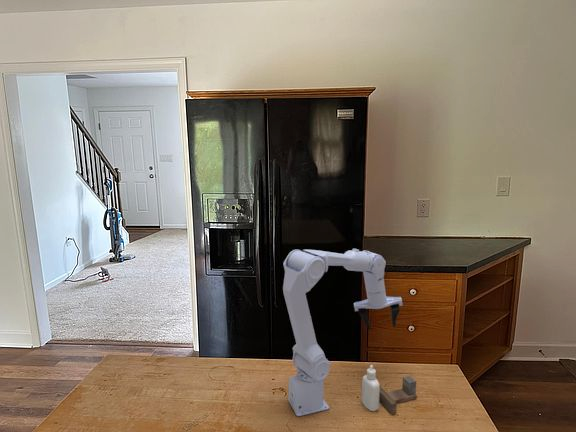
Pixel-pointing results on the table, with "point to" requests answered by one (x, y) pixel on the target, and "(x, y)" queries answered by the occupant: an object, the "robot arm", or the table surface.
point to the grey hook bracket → (398, 394)
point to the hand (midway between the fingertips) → (381, 326)
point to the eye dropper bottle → (370, 390)
